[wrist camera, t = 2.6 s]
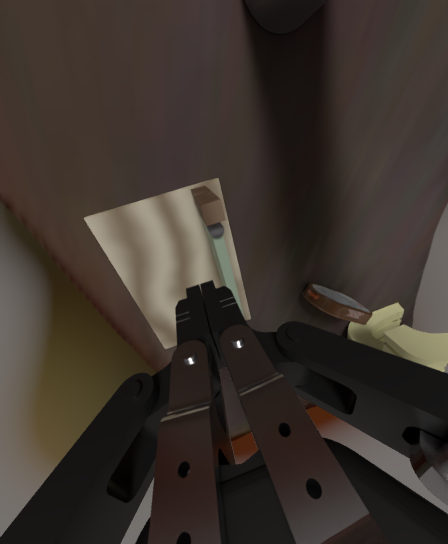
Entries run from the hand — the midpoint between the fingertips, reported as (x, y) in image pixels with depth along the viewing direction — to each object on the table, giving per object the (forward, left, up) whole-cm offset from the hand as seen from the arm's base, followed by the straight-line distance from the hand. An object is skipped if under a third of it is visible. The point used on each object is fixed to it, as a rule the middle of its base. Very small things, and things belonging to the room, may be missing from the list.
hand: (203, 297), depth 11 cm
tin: (-23, +25, -21) cm, 40 cm away
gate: (-3, +10, -20) cm, 23 cm away
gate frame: (+3, +11, -21) cm, 24 cm away
